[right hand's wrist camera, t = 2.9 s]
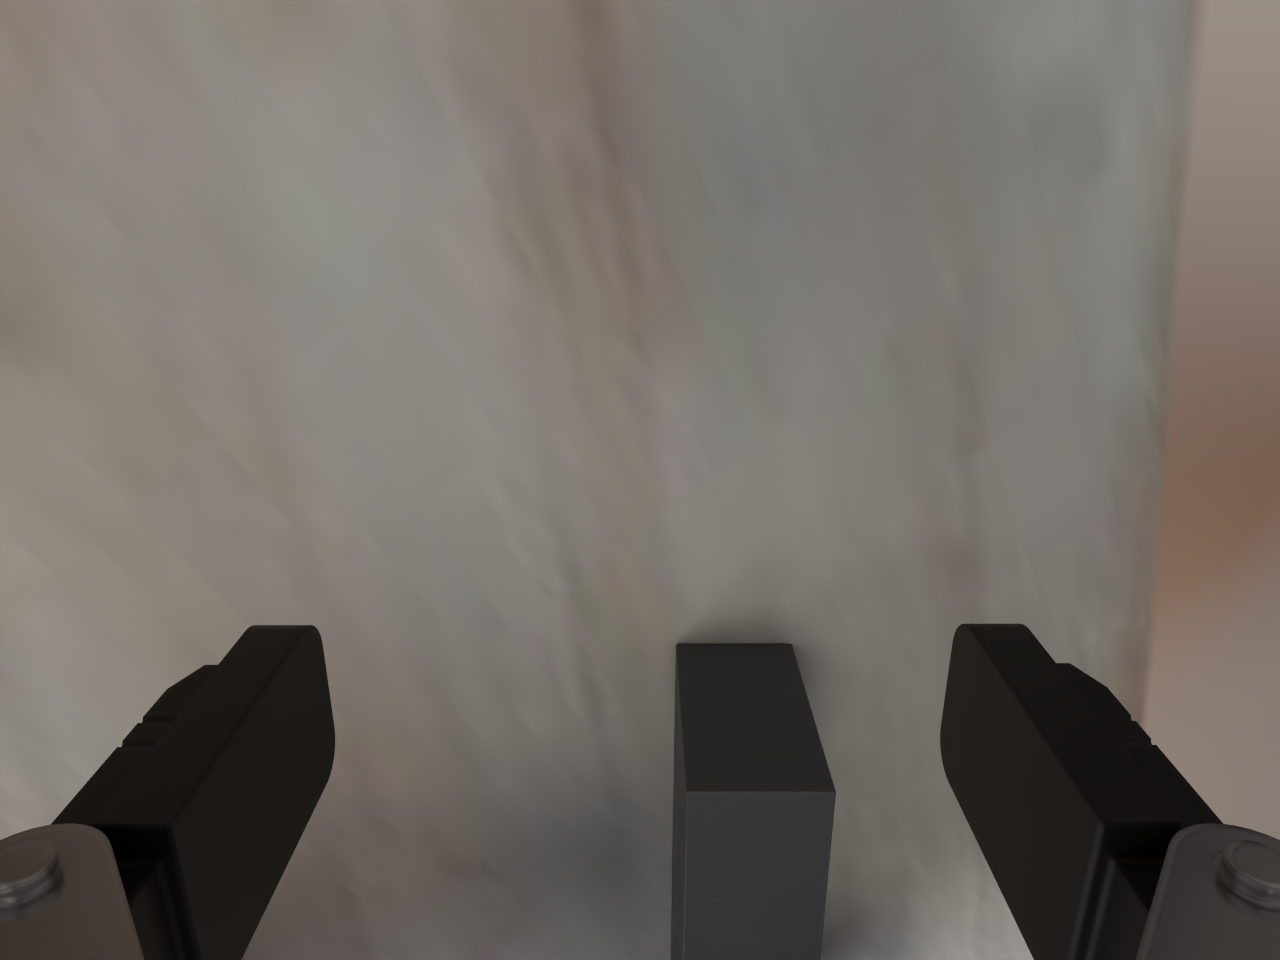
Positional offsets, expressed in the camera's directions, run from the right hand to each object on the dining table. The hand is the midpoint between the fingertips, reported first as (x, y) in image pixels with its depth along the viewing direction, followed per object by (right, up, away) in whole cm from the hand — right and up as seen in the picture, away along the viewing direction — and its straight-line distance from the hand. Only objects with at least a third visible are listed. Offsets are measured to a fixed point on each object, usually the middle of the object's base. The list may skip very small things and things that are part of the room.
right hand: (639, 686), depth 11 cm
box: (+5, -17, +39) cm, 43 cm away
